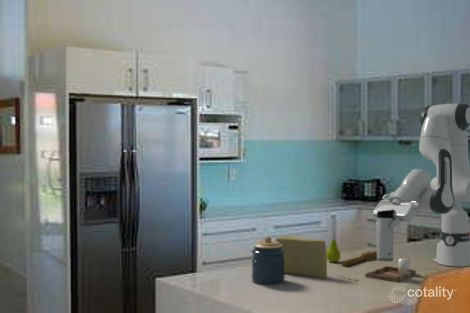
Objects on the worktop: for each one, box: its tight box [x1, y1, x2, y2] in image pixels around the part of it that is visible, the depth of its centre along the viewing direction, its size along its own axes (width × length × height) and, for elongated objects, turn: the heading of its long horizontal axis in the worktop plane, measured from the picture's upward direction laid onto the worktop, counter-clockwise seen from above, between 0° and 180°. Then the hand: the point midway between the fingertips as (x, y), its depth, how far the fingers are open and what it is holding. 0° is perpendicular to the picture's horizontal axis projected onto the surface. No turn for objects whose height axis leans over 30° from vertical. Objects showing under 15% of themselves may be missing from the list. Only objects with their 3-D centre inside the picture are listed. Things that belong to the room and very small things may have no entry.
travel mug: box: [376, 209, 394, 262], centre depth 239 cm, size 6×7×20 cm
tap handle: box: [341, 250, 377, 268], centre depth 275 cm, size 3×3×30 cm
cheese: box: [275, 234, 328, 279], centre depth 250 cm, size 22×10×15 cm, turn 49°
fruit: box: [326, 235, 341, 263], centre depth 274 cm, size 6×6×12 cm
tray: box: [364, 265, 417, 283], centre depth 242 cm, size 18×13×3 cm
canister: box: [251, 235, 286, 285], centre depth 238 cm, size 13×13×18 cm
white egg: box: [397, 257, 411, 275], centre depth 244 cm, size 4×4×6 cm
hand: (384, 226), depth 239 cm, fingers closed on travel mug, 6 cm apart
